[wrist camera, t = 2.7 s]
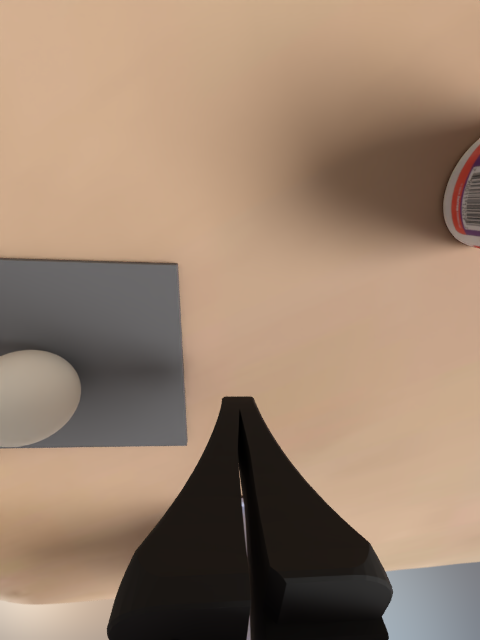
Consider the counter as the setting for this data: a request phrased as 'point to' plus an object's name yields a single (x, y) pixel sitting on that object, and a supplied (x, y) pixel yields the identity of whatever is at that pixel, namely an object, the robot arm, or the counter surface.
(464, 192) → the pill bottle
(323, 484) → the counter surface
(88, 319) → the lane
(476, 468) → the counter surface
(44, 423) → the ball
